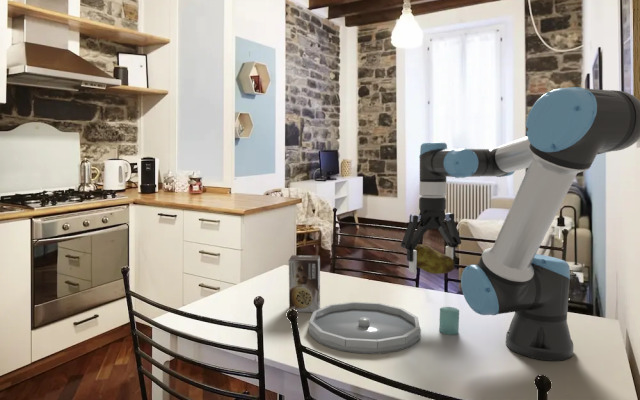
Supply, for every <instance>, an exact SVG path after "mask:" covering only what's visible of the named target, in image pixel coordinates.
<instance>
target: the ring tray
mask: <svg viewBox="0 0 640 400" xmlns="http://www.w3.org/2000/svg"><path fill="white" fill-rule="evenodd" d="M308 333H309V335H310V337H311V338H312V339H313V340H314V341H315V342H317V343H319V344H321V345H323V346H325V347H327V348H330V349H333V350H337V351H340V352H345V353H353V354H365V355H366V354H368V355H369V354H371V355H372V354H373V355H375V354H386V353H387V354H388V353H394V352H398V351H403V350H405V349H409V348H410V347H413V346H414V345H415V344H417V342H419V340H420V339H421V335H422V334H421V333H422V330H421V326H420V322H419V317H418V316H416V315H415V314H413V313H411V311H410V312H409V311H408V310H406V309H404V308H402V307H398V306H395V305H389V304H386V303H381V302H367V301H365V302H363V301H349V302H342V303H341V302H340V303H333V304H332V303H331V304H328V305H326V306H324V307H320V309H318V310H316V311H314V312H312V314H311V317H310V319H309V321H308Z"/></svg>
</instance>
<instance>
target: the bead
mask: <svg viewBox="0 0 640 400" xmlns="http://www.w3.org/2000/svg"><path fill="white" fill-rule="evenodd" d="M459 323H460V309H458V308H457V307H451V306H442V307H440V308H439V326H438V327H439V329H438V331H439V332H440V333H441V334H442V335H443V334H444V335H449V336H454V335H458V334H459V329H460V328H459V326H460V324H459Z"/></svg>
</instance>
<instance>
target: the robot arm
mask: <svg viewBox="0 0 640 400" xmlns="http://www.w3.org/2000/svg"><path fill="white" fill-rule="evenodd" d="M525 128H527V131H526V132H525V133H526V136H524V137H521V138H519V139H516V140H514V141H510V142H508V143H505V144H502V145H499V146H497V147H493V148H466V147H465V148H464V147H456V148H448V144H447V143H446V142H442V141H441V142H438V141H437V142H435V141H434V142H432V141H431V142H423V143H421V145H420V148H419V149H420V151H419V152H420V153H419V195H420V196H421V197H419V198H418V200H419V201H418V208H419V209H418V210H419V214H410V215H409V220H408V225H407V227H406V230H405V233H404V236H403V238H402V241H401V244H400V247H401V248H403V249H405V250H406V260H407V261H408V272H409V273H412V274H415V275H416V274H417V267H416V265H417V251H416V250H414V249H415V247H416V246H417V245H418V244H420V243H419V242H420V241H421V240H422V239H423V236H424V235H425V234H426V232H428V230H433V229H436V230H438V232H439V233H440V234H441V236H442V238H443V239H444V241H445V242H446V244H447V245H446V246H445V253H444V255H447V256H449V257H450V258H452V259H453V260H454V258H455V257H456V249H457V248H458V247H459V245H461V244H462V240H461V237H460V233H459V231H458V228H457V224H456V221H455V214H454V213H452V212H446V213H445V211H446V209H447V198H446V197H445V196H446V195H447V177H450V178H457V179H459V178H461V179H462V178H468V177H469V178H473V177H474V178H475V177H477V178H478V177H497V178H501V177H510V176H512V175H514V174H515V172H517V171H519V170H524V169H527V170H526V171H525V175H524V177H523V179H522V181H521V183H520V186H519V188H518V190H517V192H516V194H515V197H514V199H513V202H512V203H511V206H510V208H509V210H508V212H507V215H506V217H505V219H504V222H503V224H502V226H501V229H500V230H499V232H498V235H497V237H496V239H495V242H494V243H493V246H492V247H488V248H486V249H484V251H483V252H482V254H481V256H480V258H479V260H478V262H477V263H476V264H470V265H467V266H466V267H464V268H463V270H462V273H461V278H460V283H461V284H460V285H461V290H462V294H463V297H464V300H465V301H466V302H465V303H467V305H468V306H469V308H470V309H472V311H474V312H475V314H478V315H480V316H496V315H497V316H498V315H503V314H509V313H514V315H513V316H512V317H513V318H512V320H511V322H510V325H509V328H508V330H507V331H506V334H505V345H506V346H507V347H508V348H509V350H511V351H513V352H515V353H517V354H519V355H522V356H525V357H528V358H530V359H536V360H543V361H551V362H552V361H554V362H555V361H563V360H568V359H569V358H572V357H573V355H574V343H573V339H572V338H571V333H570V330H569V325H568V310H569V308H568V307H569V295H570V294H569V293H570V280H571V273H570V271H571V270H570V268H571V267H570V265H569V263H568V262H567V261H565V260H564V259H561V258H559V257H553V256H549V255H545V254H539V253H538V254H537V252H538V251H539V249H540V247H541V246H542V243H543V240H544V239H545V237H546V235H547V234H548V231H549V229H550V227H551V225H552V223H553V221H554V220H555V217H556V216H557V214H558V212H559V209H560V208H561V206H562V204H563V202H564V200H565V198H566V196H567V194H568V193H569V190H570V188H571V187H572V184H573V183H574V182H575V181H574V180H575V179H576V176H577V174H579V173H582V172H585V171H588V170H590V168H591V167H592V164H593V163H594V161H595V159H596V157H597V155H602V154H605V153H611V152H618V151H621V150H625V149H627V148H630V147H631V146H633V145H635V144H636V143H637V142H638V141H639V140H640V99H638V98H637V97H636V96H634V95H633V94H631V93H629V92H626V91H622V90H614V89H613V90H609V89H594V88H584V87H580V86H573V87H572V86H571V87H559V88H555V89H553V90H552V89H551V90H550V91H547V92H546V93H544V94H543V95H541V97H539V98H538V99H537V100H536V101H535V102H534V104H533V105H532V107H531V109H530V111H529V112H528V114H527V117H526V122H525ZM444 221H445V222H446V224H445V222H444ZM418 223H419V224H418ZM446 225H447V226H446ZM447 228H448V229H447Z"/></svg>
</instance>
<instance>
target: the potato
mask: <svg viewBox="0 0 640 400" xmlns="http://www.w3.org/2000/svg"><path fill="white" fill-rule="evenodd" d="M414 250H416V251H417V265H416V268H418V269H421V270H423V271H424V272H426V273H429V274H433V275H434V274H435V275H438V274H440V275H441V274H448V273H450V272H452V271H453V270H454V269H455V266H456V265H455V261H454V258H453V259H452V258H450V257H449V256H447V255H445V253H442V252H440V251H438V250H436V249H435V248H433V247H431V246H429V245H426V244H420V243H418V244H417V246H416V247H415V249H414Z"/></svg>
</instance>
